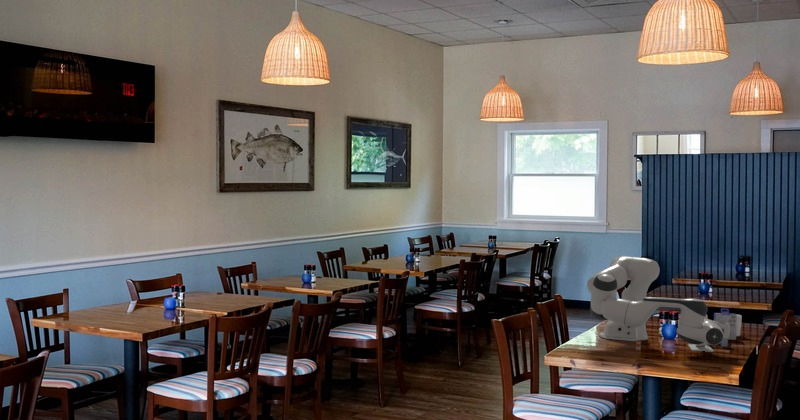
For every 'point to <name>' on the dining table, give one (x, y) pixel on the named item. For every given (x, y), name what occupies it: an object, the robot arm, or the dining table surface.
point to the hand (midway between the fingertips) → (702, 324)
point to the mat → (700, 348)
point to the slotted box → (723, 342)
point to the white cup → (738, 325)
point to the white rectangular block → (704, 342)
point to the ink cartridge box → (727, 321)
